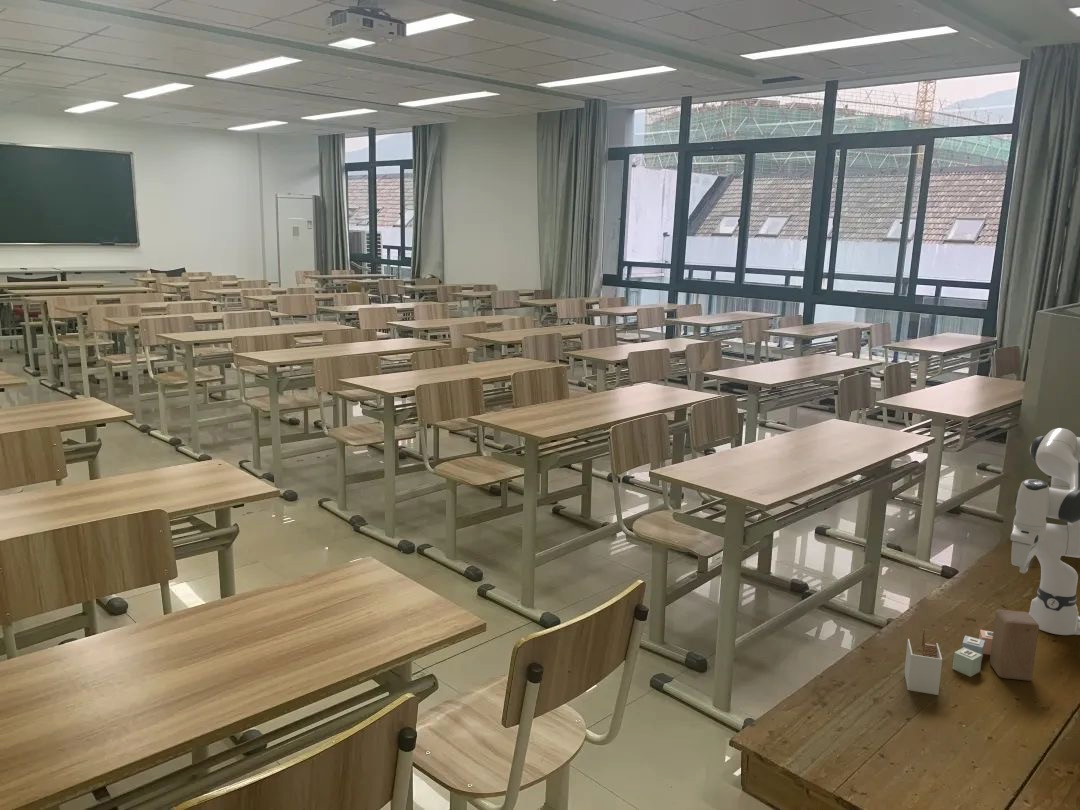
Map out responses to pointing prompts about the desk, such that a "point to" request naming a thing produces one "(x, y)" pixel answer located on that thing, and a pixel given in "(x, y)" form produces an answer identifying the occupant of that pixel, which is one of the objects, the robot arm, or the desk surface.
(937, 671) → the tall white open bin
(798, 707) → the desk surface
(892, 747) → the desk surface
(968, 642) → the tile cube slate
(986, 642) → the tile cube terracotta
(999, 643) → the wooden block
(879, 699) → the desk surface
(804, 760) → the desk surface
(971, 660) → the tile cube sage
